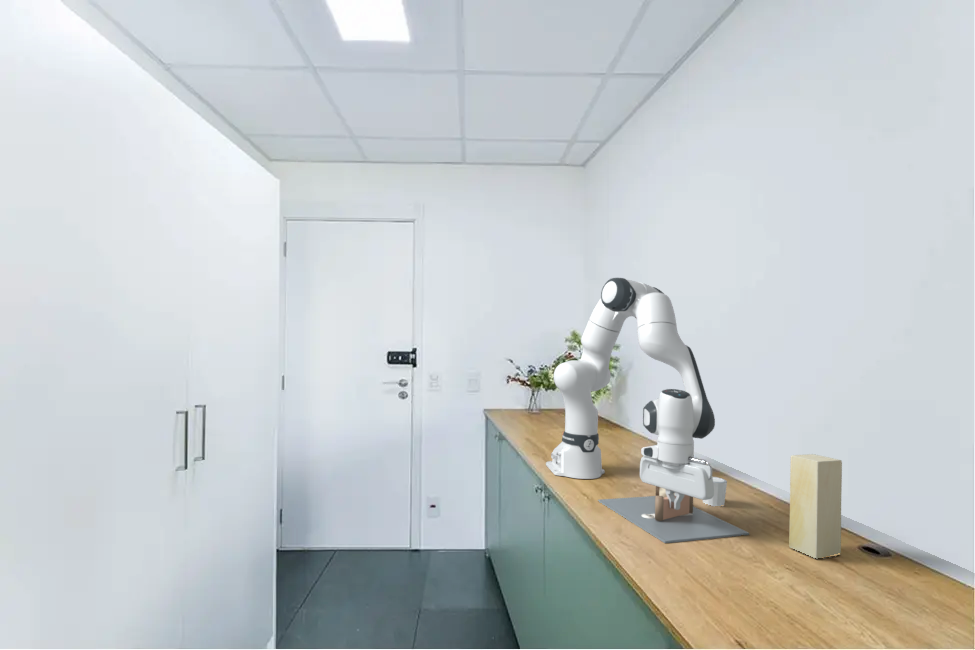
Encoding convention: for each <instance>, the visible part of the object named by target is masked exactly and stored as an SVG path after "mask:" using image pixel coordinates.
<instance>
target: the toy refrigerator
mask: <svg viewBox="0 0 975 650" xmlns="http://www.w3.org/2000/svg"><path fill="white" fill-rule="evenodd" d="M842 471H843V461H842V460H841V459H837V458H834V457H829V456H825V455H819V454H813V453H811V454H810V453H809V454H793V455H790V473H789V476H790V478H789V480H790V481H789V527H788V528H789V534H788V536H789V538H788V546H789V548H790V549H791V548H793V549H795V550H794V551H796V550H797V551H796V552H798V551H800V552H802V553H801V554H803V553H805V554H806V556H807V555H809V556H808V557H810V556H811V557H810V558H812V557H813V559H815V558H816V559H815V560H819V559H818V558H822V557H826V556H830V555H834V554H838V553H841V552H842V550H841V549H842V548H841V547H842V540H841V539H842V485H843V481H842V480H843V478H842V475H843V472H842ZM793 549H792V550H793ZM800 552H799V553H800ZM805 554H804V555H805Z"/></svg>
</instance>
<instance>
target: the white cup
mask: <svg viewBox="0 0 975 650" xmlns="http://www.w3.org/2000/svg"><path fill="white" fill-rule="evenodd" d="M712 477H713V484H714V496H713V497H712V498H711V499H708V500H702V503H703V504H704V503H705V504H704V505H706V504H708V505H707V506H709V505H711V506H710V507H715V506H721V505H724V506H725V503H726V500H725V499H726V494H727V487H728V486H727V485H728V480H727V479H724V478H721V477H718V476H712Z"/></svg>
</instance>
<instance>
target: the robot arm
mask: <svg viewBox="0 0 975 650" xmlns="http://www.w3.org/2000/svg"><path fill="white" fill-rule="evenodd" d="M675 314H676V313H675V310H674V307H673V303H672V300H671V298H670V297H669V296H668V295H667V294H665V293H664V292H663V291H662V290H660V289H659V288H657V287H654V286H651V285H649V284H647V283H643V282H641V281H635V280H630V279H626V278H624V277H611V278H609V279H608V280H607V281H606V282H605V283H604V285H603V287H602V289H601V291H600V298H599V300H598V302H597V303H596V304H595V307H594V308H593V310H592V311H591V314H590V316H589V318H588V321H587V323H586V326H585V328H584V330H583V333H582V336H581V337H580V343H581V345H582V353H581V358H580V359H578V360H576V359H575V360H574V359H573V360H567V361H565V362H562V363H560V364H558V365H557V366H556V367H555V369H554V371H553V382H554V384H555V387H556V388H557V389H558V390H559V391H560V393H561V396H562V400H563V405H564V411H565V412H564V414H565V417H564V430H563V432H562V434H561V435H562V438H561V442H560V443H559V444H558V445H557V446H556V447H555V448H554V449H553V451H552V452H551V453H550V457H551V459H552V460H550V461H546V462H545V466H546V467H547V468H548V470H550V471H551V473H553V475H554V476H561V477H567V478H573V479H579V480H580V479H583V480H590V479H591V480H592V479H598V478H601V477H602V475H604V474H605V472H606V471H605V469H603V468H602V467H603V465H602V450H601V448H600V447H599V444H600V443H599V442H600V441H599V440H600V437H599V432H598V427H599V426H598V424H599V420H598V419H599V410H598V409H597V407H596V406H595V404H594V402H593V397H592V392H596V391H597V392H598V391H599V390H602V389H603V388H605V387H607V386H608V385H609V383H610V381H611V378H612V377H611V376H612V375H611V370H610V362H611V357H612V353H613V349H614V347H615V344H616V343H617V340H618V337H619V335H620V333H621V331H622V327H624V323H625V321H626V320H627V319H628V318H629V317H634V318H635V319H636V330H637V332H636V333H637V340H638V344H639V347H640V349H641V350H642V351H643V353H644V354H645V355H647V356H648V357H650V358H651V359H652V360H653V359H654V360H655V361H658V362H661V363H664V364H666V365H669V366H670V367H672V368H673V369H675V370H676V371H677V372H678V373H679V374H680V377H681V379H682V383H683V387H684V390H681V389H675V388H666V389H663V390H661V391H660V393H659V397H658V398H655V399H654V400H650V401H649V402H648V403H646V404H645V406H643V408H642V426H643V427H644V428H645V429H646V430H647V431H648V432H649V433H651V434H653V435H657V436H658V437H657V440H656V441H657V442H656V443H657V444H653V445H649V446H644V447H642V448H640V449H641V450H640V451H641V452H640V453H641V455H642V456H641V459H640V461H639V478H640V480H641V482H642V483H645V484H649V485H650V486H651V485H652V486H655V487H656V486H658V487H661V488H664V489H666V495H667V497H668V500H669V507H670V508H673V509H676V510H679V509H680V502H681V501H682V499H683V498H684V496H685V495H688V496H691V497H693V498H694V499H698V500H702V501H703V500H708V499H711V498H712V497H713V496H714V484H713V477H714V476H713V467H712V465H711V464H710V463H709V462H708V461H707V460H706V459H699V458H697V457H695V456H694V455H695V450H694V449H695V441H694V438H695V439H704V438H706V437H708V436H709V435H710V434H711V433H712V432H713V430H714V429H715V425H716V420H715V419H716V418H715V414H714V411H713V409H712V406H711V403H710V402H709V399H708V396H707V393H706V390H705V387H704V383H703V380H702V377H701V373H700V370H699V367H698V364H697V360H696V358H695V355H694V353H693V351H692V348H691V347H690V346H688V345H687V344H685V343H684V342H683V340H682V339H681V336H680V334H679V332H678V327H677V319H676V318H677V317H676V315H675ZM674 493H675V496H677V497H676V499H675V496H674Z"/></svg>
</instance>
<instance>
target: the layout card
mask: <svg viewBox="0 0 975 650" xmlns="http://www.w3.org/2000/svg"><path fill="white" fill-rule="evenodd" d="M655 496H656V495H650V496H648V495H647V496H633V497H617V498H602V499H597V502H598V501H599V502H598V503H600V504H601V503H602V504H601V505H603V506H604V505H605V507H606V506H607V507H606V508H608V509H609V508H610V509H609V510H611V511H612V510H613V512H614V511H615V512H614V513H615V514H617V513H618V514H617V515H619V516H620V515H621V517H622V516H623V517H622V518H623V519H625V518H626V520H627V521H628V522H630V523H632V524H633V523H634V524H633V525H635V526H636V527H638V528H640V529H641V528H642V529H641V530H643V531H645V532H646V533H648V534H649V533H650V535H651V536H653V537H655V538H656V539H657V540H659V541H660V542H662V543H664V544H670V543H671V544H672V543H682V542H691V541H703V540H712V539H713V540H714V539H721V538H730V537H731V538H732V536H733V537H741V535H744V536H750V532H748V531H747V530H744V529H743V528H740V527H738V526H737V525H734V524H731V523H729V522H727V521H725V520H723V519H721V518H718V517H717V516H715V515H712V514H710V513H708V512H706V511H704V510H701V509H699V508H697V507H696V506H694V505H693V513H688V514H684V515H680V516H676V517H672V518H668V519H664V520H663V521H658V520H655Z"/></svg>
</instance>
